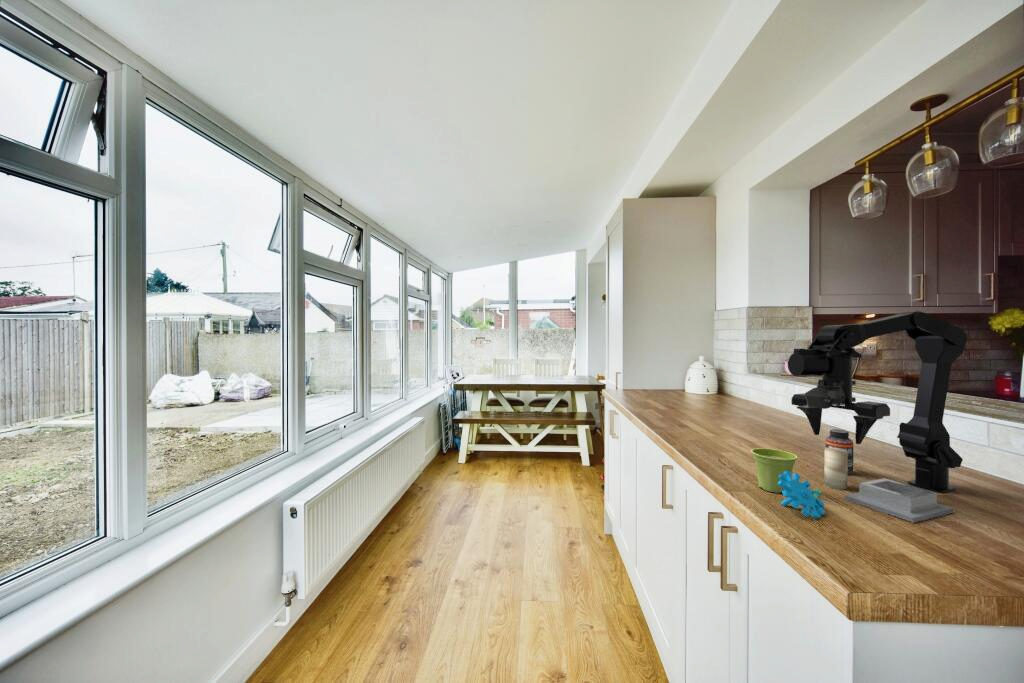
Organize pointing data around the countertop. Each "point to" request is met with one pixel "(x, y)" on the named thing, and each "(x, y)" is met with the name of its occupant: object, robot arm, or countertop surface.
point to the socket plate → (912, 517)
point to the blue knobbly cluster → (800, 495)
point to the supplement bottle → (841, 444)
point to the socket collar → (898, 495)
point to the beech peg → (836, 468)
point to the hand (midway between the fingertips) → (836, 439)
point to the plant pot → (772, 467)
